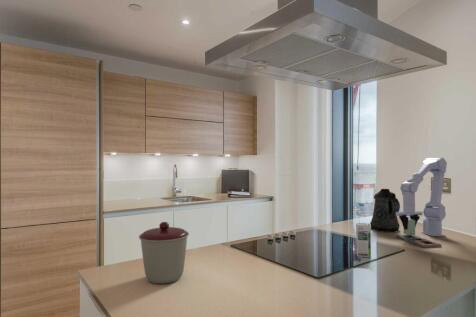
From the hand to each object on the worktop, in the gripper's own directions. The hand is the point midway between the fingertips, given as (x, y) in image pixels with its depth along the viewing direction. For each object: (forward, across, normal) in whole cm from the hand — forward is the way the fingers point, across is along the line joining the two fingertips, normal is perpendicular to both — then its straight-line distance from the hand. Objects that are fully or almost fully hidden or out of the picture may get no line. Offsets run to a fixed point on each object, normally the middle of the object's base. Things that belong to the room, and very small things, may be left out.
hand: (409, 228), depth 173 cm
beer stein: (+6, +1, +22) cm, 23 cm away
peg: (+3, 0, 0) cm, 3 cm away
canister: (+5, -127, -39) cm, 133 cm away
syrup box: (+5, -40, -24) cm, 47 cm away
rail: (+5, 0, -6) cm, 8 cm away
